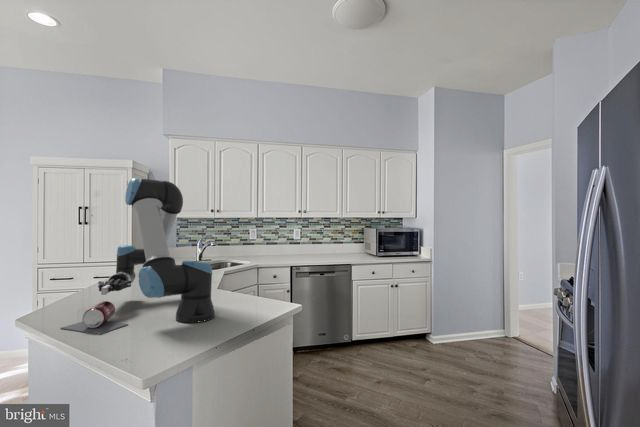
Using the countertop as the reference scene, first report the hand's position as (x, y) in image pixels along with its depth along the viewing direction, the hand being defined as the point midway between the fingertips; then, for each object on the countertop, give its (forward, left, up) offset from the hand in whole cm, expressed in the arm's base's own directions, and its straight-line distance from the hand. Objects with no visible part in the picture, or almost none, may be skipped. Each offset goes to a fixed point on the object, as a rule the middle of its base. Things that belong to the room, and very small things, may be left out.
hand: (103, 291), depth 132 cm
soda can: (0, -1, -7) cm, 7 cm away
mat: (-4, +7, -11) cm, 14 cm away
